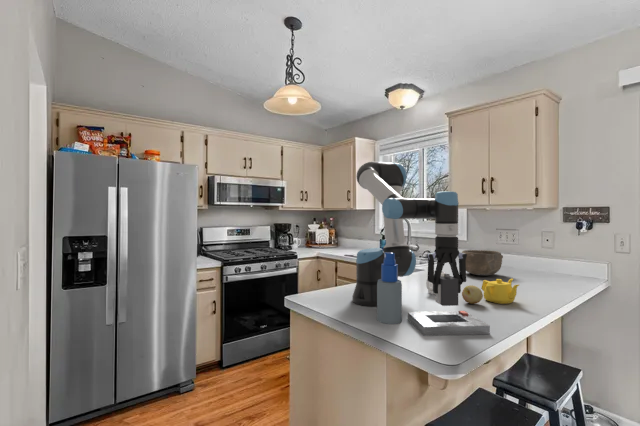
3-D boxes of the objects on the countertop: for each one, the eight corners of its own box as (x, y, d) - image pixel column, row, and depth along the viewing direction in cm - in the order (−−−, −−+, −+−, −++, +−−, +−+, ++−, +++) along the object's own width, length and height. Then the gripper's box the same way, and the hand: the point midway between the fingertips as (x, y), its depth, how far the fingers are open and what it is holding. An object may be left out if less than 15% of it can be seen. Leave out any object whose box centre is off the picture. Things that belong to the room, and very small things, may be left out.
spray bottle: (380, 324, 118) (380, 254, 118) (374, 316, 127) (374, 251, 127) (405, 323, 119) (405, 253, 119) (397, 315, 128) (397, 250, 128)
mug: (433, 297, 156) (434, 275, 156) (419, 293, 163) (419, 272, 163) (449, 293, 163) (449, 272, 163) (434, 290, 170) (434, 269, 170)
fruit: (459, 301, 148) (459, 283, 148) (478, 301, 148) (478, 283, 148) (466, 306, 141) (466, 287, 141) (486, 306, 141) (486, 287, 141)
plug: (442, 305, 113) (442, 275, 113) (435, 301, 118) (435, 272, 118) (458, 305, 113) (458, 275, 113) (450, 301, 119) (450, 272, 119)
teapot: (520, 307, 140) (520, 283, 140) (484, 304, 145) (485, 281, 144) (512, 298, 153) (513, 277, 153) (480, 296, 158) (480, 275, 157)
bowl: (504, 274, 214) (504, 250, 214) (501, 280, 193) (501, 254, 193) (464, 270, 227) (464, 248, 227) (457, 276, 206) (457, 252, 206)
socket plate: (424, 335, 107) (424, 324, 107) (407, 319, 123) (407, 310, 123) (489, 334, 109) (489, 323, 109) (465, 318, 125) (465, 309, 125)
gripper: (424, 236, 112) (424, 305, 111) (478, 236, 113) (478, 304, 113) (416, 235, 119) (417, 300, 119) (466, 235, 120) (467, 299, 120)
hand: (446, 302), depth 116 cm, fingers closed on plug, 5 cm apart
